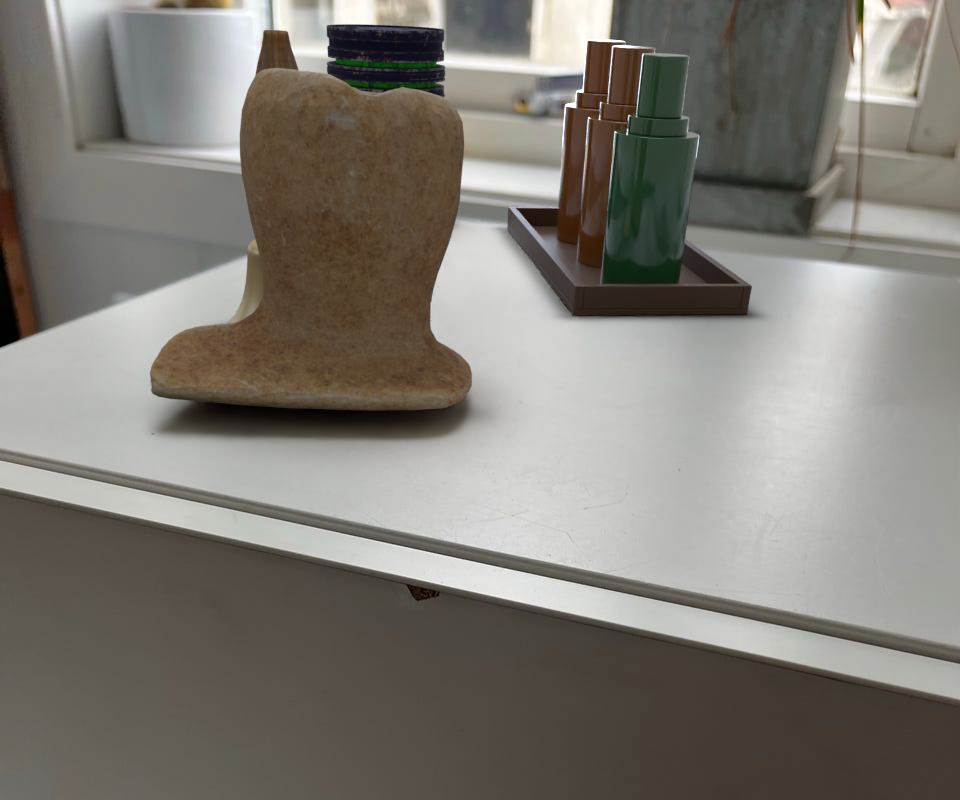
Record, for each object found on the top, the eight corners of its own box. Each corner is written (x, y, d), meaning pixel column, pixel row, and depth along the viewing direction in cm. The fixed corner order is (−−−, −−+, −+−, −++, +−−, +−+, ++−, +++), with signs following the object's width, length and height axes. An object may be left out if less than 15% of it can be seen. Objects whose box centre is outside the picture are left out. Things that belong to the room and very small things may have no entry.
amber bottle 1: (612, 231, 88) (631, 39, 80) (629, 246, 84) (651, 43, 76) (550, 231, 88) (563, 37, 80) (563, 246, 83) (578, 41, 75)
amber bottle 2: (636, 252, 82) (660, 45, 74) (656, 269, 77) (684, 50, 69) (569, 252, 81) (585, 43, 73) (585, 269, 76) (604, 48, 68)
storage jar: (452, 214, 94) (455, 28, 86) (432, 236, 86) (434, 32, 78) (348, 207, 95) (342, 23, 87) (319, 228, 87) (309, 27, 79)
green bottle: (664, 277, 75) (694, 53, 67) (688, 297, 71) (722, 59, 63) (591, 277, 74) (612, 50, 66) (610, 297, 70) (635, 56, 62)
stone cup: (474, 363, 58) (483, 65, 50) (468, 442, 48) (478, 85, 40) (211, 353, 58) (177, 52, 50) (151, 430, 48) (96, 70, 40)
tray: (639, 230, 91) (642, 207, 90) (747, 314, 69) (752, 285, 68) (507, 229, 90) (508, 206, 89) (573, 315, 67) (575, 286, 66)
